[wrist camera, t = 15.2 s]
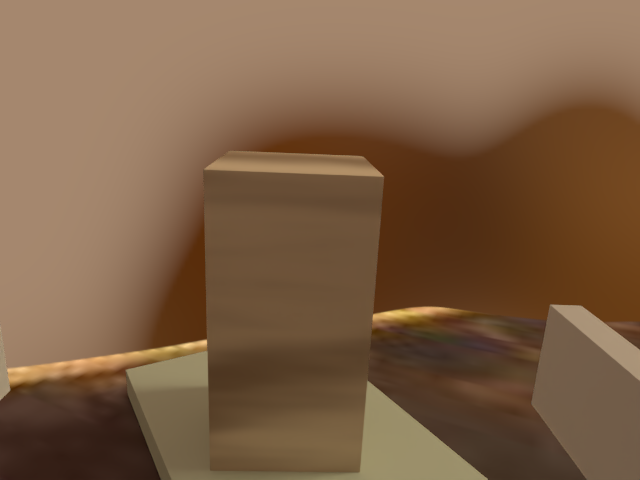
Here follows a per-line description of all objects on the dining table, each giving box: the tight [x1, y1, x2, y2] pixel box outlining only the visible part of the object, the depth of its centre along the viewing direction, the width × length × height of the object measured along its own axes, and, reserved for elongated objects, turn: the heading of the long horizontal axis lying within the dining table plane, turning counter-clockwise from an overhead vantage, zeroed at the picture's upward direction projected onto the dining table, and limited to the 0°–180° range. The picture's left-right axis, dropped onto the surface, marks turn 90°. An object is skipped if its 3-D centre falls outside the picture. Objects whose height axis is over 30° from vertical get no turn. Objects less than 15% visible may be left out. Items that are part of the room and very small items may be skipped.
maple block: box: [203, 151, 384, 472], centre depth 21 cm, size 6×6×12 cm
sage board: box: [126, 351, 488, 480], centre depth 23 cm, size 16×11×2 cm
